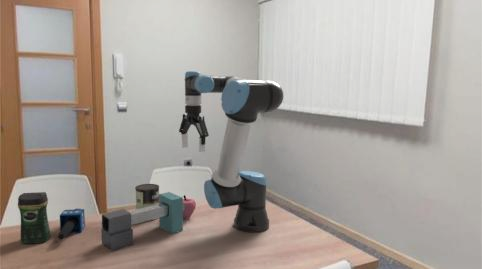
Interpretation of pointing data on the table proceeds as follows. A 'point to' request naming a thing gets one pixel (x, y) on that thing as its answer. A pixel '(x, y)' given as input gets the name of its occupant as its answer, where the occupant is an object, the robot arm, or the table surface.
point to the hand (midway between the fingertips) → (193, 149)
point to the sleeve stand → (116, 230)
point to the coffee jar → (33, 217)
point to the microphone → (71, 222)
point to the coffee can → (147, 195)
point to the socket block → (172, 212)
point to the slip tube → (149, 213)
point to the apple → (188, 207)
